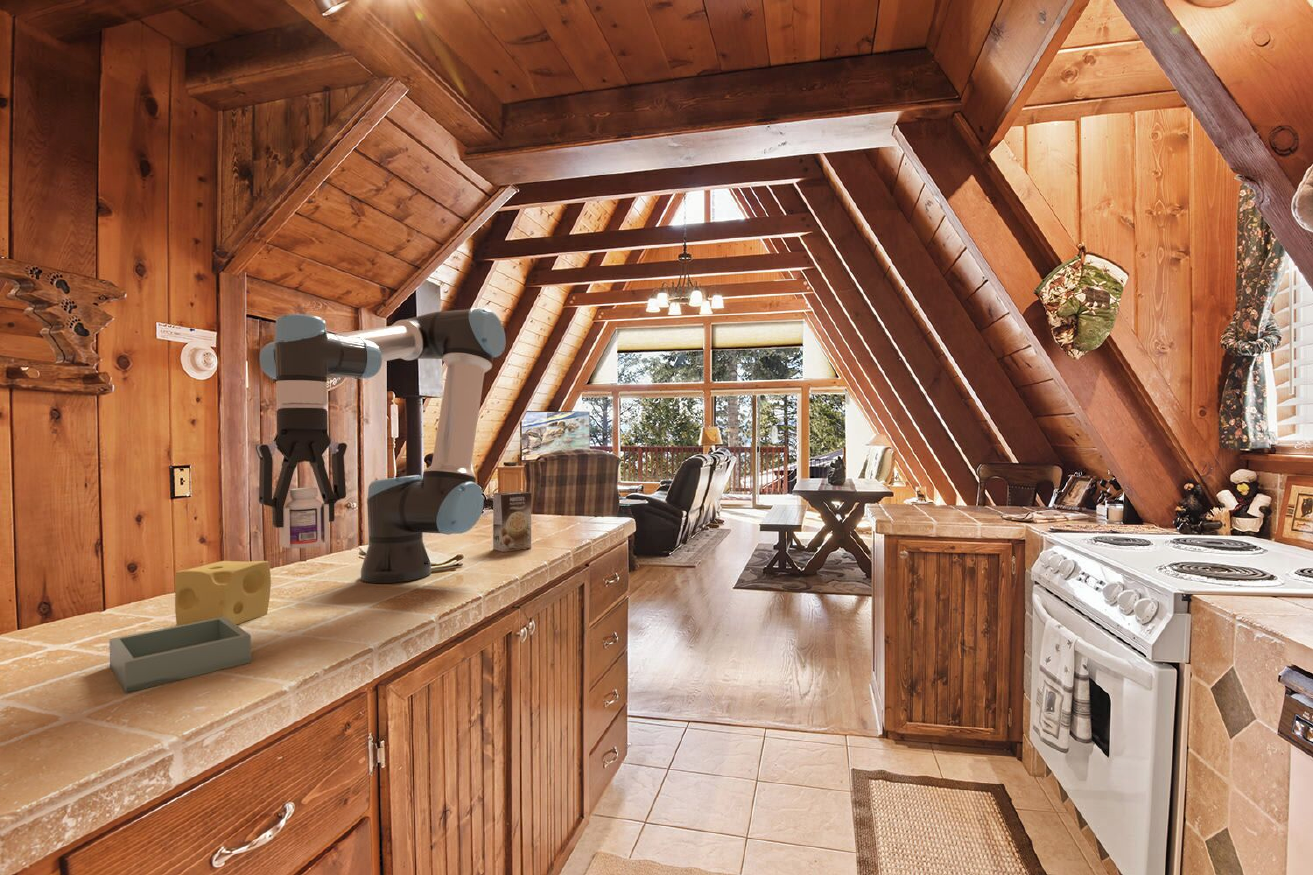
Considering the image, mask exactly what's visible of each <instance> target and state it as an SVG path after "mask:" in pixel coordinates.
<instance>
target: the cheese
mask: <svg viewBox="0 0 1313 875" xmlns="http://www.w3.org/2000/svg"><path fill="white" fill-rule="evenodd" d="M270 568H271V567H270V562H269V561H268V560H255V561H254V560H253V561H252V560H251V561H236V560H235V561H234V560H221V561H214V562H213V563H212V562H211V563H209V564H205V565H204V564H203V565H201V566H195V567H191V568H188V569H182V570H178V571H175V573H174V607H175V608H174V611H175V622H176V626H179V625H184V624H189V623H195V622H200V621H205V620H210V619H215V618H220V617H226V618H227V619H229V620H230V621H231V622H233V623H234V624H236V625H237V626H238V625H239V624H242V623H245V622H248V621H251V620H253V619H257V618H260V617H263V616H266V615H267V614H268V610H269V606H270V605H269V603H270V598H271V587H272V577H271V569H270Z"/></svg>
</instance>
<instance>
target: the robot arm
mask: <svg viewBox="0 0 1313 875" xmlns="http://www.w3.org/2000/svg"><path fill="white" fill-rule="evenodd" d="M326 325H327V323H326V320H324V319H323V318H322V317H319V316H318V315H317V316H316V315H311V314H302V313H288V314H281V315H279V316H278V317H277V318H276V320H275V327H274V339H273V341H272V342H269V343H267V344H266V345H264V346H263V347H262V348H261V351H260V353H259V364H260V367H261V370H262V371H263V372H264V374H265V375H266V376H267V377H268V378H271V379H273V380H276V382H275V386H276V387H275V389H276V392H275V394H276V395H275V398H276V405H277V406H280V408H277V410H276V411H275V412H276V435H275V438H274V439H273V441H271V442H267V443H264V444H257V445H256V446H255V451H256V453H257V454H256V455H257V456H258V458H259V467H258V469H259V471H258V472H259V473H258V474H259V478H258V480H259V481H258V487H259V488H258V503H259V504H260V505H264V506H268V507H270V508H271V509H272V513H271V514H272V525H273V528H276V529H278V531H279V547H281V548H286V549H287V548H289V547H290V509H289V508H287V507H286V506H285V504H286V500H287V498H288V494H289V490H290V486H291V483H292V479H293V477H294V473H295V469H296V468H297V466H298V463H303V462H306V463H307V462H308V463H309V466H310V467H311V469H312V471H313V472H312V473H313V474H314V477H315V480H316V484H317V487H318V490H319V493H320V496H321V499H322V501H323V502H321V503H322V520H323V543H330V523H331V522H333V523H334V521H335V505H336V503H337V502H338V501H341V500H343V499H345V498H346V497H347V491H346V490H347V489H346V488H347V487H346V470H345V469H346V468H345V454H346V450H347V449H348V448H347V447H348V445H347V443H345V442H338V441H334V440H332V439H331V437H330V436H329V433H328V431H329V430H328V428H329V427H328V426H329V424H328V423H329V421H328V420H329V418H328V416H329V415H328V414H329V413H328V410H327V409H326V408H324V407H325V406H327V405H328V383H327V382H328V379H336V378H339V379H340V378H341V379H342V378H350V379H351V378H353V379H357V380H358V379H359V380H361V379H371V378H373V377H375V376H376V375H377V374H378V373H379V372H380V370H381V367H382V365H383V364H382V363H383V362H387V361H394V360H396V359H401V360H405V361H413V360H420V359H423V360H424V359H425V360H427V359H429V360H433V359H434V360H441V361H442V362H443V363H444V364H445V365H446V367H447V368H446V375H445V381H444V387H443V393H442V400H441V405H440V411H439V412H440V413H439V417H438V424H437V430H436V435H435V436H436V437H435V443H434V448H433V454H432V460H431V464H430V465H429V466H428V467H427V468H426V469H424V470H423V474H422V476H421V475H419V474H414V475H406V476H399V477H392V478H385V479H383V478H382V479H377V480H374V481H372V482H370V484H369V485H368V487H367V488H368V490H367V491H368V492H367V498H366V501H367V502H366V503H367V504H366V505H367V526H368V546H367V550H366V553H365V555H364V558H363V562H362V564H361V568H360V580H361V581H362V582H365V583H368V584H369V583H371V584H392V583H393V584H394V583H402V582H404V583H405V582H409V581H414V580H418V579H422V578H425V577H428V576H429V575H431V574H432V563H431V560H430V558H429V555H428V552H427V549H426V546H425V544H424V540H423V537H424V535H423V534H424V533H425V534H443V535H448V536H449V535H457V534H458V535H459V534H460V535H461V534H464V533H467V532H468V531H470V530H471V529H472V528H473V527H474V526H476V525H477V523H478V522H479V520H480V518H481V515H482V514H483V509H484V505H485V503H484V502H485V499H484V495H483V489H482V488H481V486H480V485H479V484H477V483H476V481H477V476H476V475H475V474H474V472H473V471H472V469H471V468H472V462H473V455H474V450H475V449H474V448H475V443H476V442H475V441H476V440H475V439H476V435H477V429H478V420H479V413H480V408H481V407H480V406H481V400H482V393H483V387H484V386H483V384H484V378H485V373H487V372H488V371H490V370H491V369H492V368H493V362H494V358H498V357H500V356H501V355H503V353H504V352H505V349H506V344H507V343H506V341H507V340H506V339H507V338H506V333H505V329H504V326H503V324H502V322H501V319H500V318H499V317H498V315H497V313H495V312H494V311H492V309H489V308H476V307H472V308H467V309H455V310H444V311H443V310H442V311H434V312H430V313H429V312H428V313H425V314H422V315H418V316H414V317H411V318H407V319H400V320H397V321H395V322H394V323H393V324H391V325H389V326H388V325H387V326H381V327H372V328H367V329H360V330H353V331H346V332H339V333H332V332H328V328H327V326H326ZM328 448H329V452H330V454H331V475H332V483H331V482H330V479H329V475H328V472H327V469H326V467H325V466H326V465H325V464H326V462H325V460H324V456H323V454H325V452H326V450H327V449H328ZM276 449H277V450H278V451H279V453H281V455H282V456H283V458H282V462H281V469H280V473H279V476H278V480H277V482H276V487H275V490H274V494H273V470H274V467H273V465H274V461H273V460H274V459H273V456H274V455H275V454H276ZM331 484H332V485H331Z"/></svg>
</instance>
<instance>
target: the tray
mask: <svg viewBox="0 0 1313 875" xmlns="http://www.w3.org/2000/svg"><path fill="white" fill-rule="evenodd" d="M251 636H252V635H251V634H250V633H249V632H247V631H245V630H244V629H242V628H241V627H240V626H238V624H237V625H236V624H234V623H233V622H231V621H230V620H229V619H227V618H226V617H220V618H215V619H210V620H205V621H200V622H195V623H189V624H184V625H179V626H177V625H174V626H169V627H165V628H159V629H155V630H154V629H153V630H149V631H144V632H143V631H142V632H138V633H133V634H129V635H123V636H117V637H114V638H113V637H112V638H109V639H108V640H109V668H110V669H111V671H112V672H113V675H114V676H115V678H116V679H117V681H118V683H119V684H120V686H121V688H122V689H123V690H124V692H125V694H129V693H133V692H136V691H141V690H144V689H147V688H148V689H150V688H152V687H157V686H161V685H165V684H168V683H172V682H177V681H181V680H186V679H189V678H193V677H197V676H202V675H206V674H209V673H213V672H218V671H222V670H226V669H230V668H234V667H236V666H242V665H245V664H249V663H250V664H251V662H252V642H251Z"/></svg>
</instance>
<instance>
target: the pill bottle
mask: <svg viewBox="0 0 1313 875" xmlns="http://www.w3.org/2000/svg"><path fill="white" fill-rule="evenodd" d="M289 490H290V493H289V497H290V499H291V501H288V502H287V503H286V505H285V507H287V508H289V509H290V547H288V548H290V549H306V548H313V547H318V546H321V545H322V544H323V543H324V542H323V520H322V503H323V502H322V501H320V500H319V499H317V497H318V488H317V487H297V488H292V489H289Z"/></svg>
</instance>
